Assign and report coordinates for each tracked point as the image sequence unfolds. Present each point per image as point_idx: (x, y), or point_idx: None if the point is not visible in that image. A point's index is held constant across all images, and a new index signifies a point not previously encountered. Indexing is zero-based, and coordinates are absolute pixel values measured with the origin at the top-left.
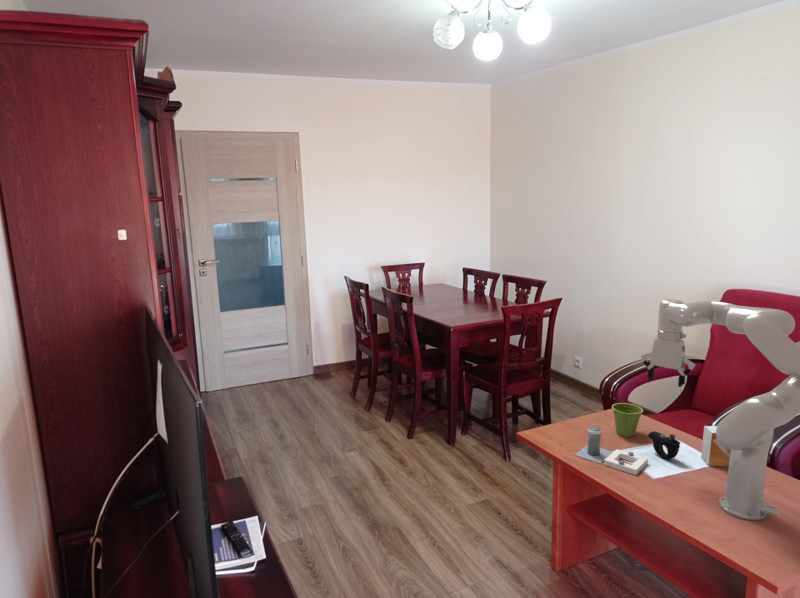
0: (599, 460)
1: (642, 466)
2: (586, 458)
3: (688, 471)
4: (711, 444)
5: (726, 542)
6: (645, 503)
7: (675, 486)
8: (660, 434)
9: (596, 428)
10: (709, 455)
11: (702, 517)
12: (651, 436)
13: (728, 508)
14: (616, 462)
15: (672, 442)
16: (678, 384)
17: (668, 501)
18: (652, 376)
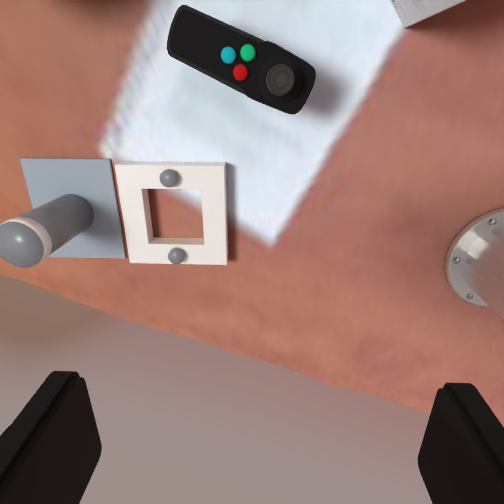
0: (114, 244)
1: (226, 212)
2: (82, 256)
3: (347, 128)
4: (449, 7)
5: None
6: (293, 360)
7: (332, 249)
8: (215, 34)
9: (22, 241)
10: (421, 20)
11: (410, 343)
12: (187, 63)
13: (468, 292)
14: (164, 256)
15: (287, 100)
16: (429, 486)
17: (333, 326)
18: (73, 465)
